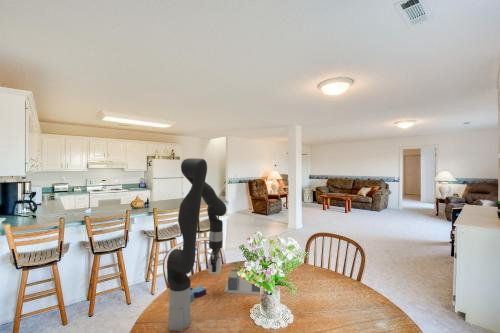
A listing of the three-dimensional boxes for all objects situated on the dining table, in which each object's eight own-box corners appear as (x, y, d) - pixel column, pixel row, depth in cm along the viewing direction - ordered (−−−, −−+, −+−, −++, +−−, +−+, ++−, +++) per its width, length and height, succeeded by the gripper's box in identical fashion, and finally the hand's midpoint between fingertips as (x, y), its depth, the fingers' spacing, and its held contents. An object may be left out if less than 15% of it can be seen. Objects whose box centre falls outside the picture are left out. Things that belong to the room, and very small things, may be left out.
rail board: (263, 295, 137) (264, 281, 137) (224, 292, 138) (224, 278, 138) (264, 282, 151) (264, 270, 150) (228, 280, 152) (228, 268, 152)
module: (219, 274, 134) (220, 259, 134) (208, 273, 135) (209, 258, 135) (220, 271, 138) (221, 256, 138) (210, 270, 139) (210, 255, 139)
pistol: (208, 293, 138) (187, 305, 126) (189, 285, 147) (168, 296, 134) (208, 286, 138) (187, 297, 126) (189, 278, 147) (168, 288, 134)
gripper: (220, 243, 129) (218, 276, 129) (224, 235, 143) (224, 265, 143) (205, 242, 130) (204, 275, 130) (212, 235, 144) (211, 264, 144)
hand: (214, 269), depth 136 cm, fingers closed on module, 4 cm apart
